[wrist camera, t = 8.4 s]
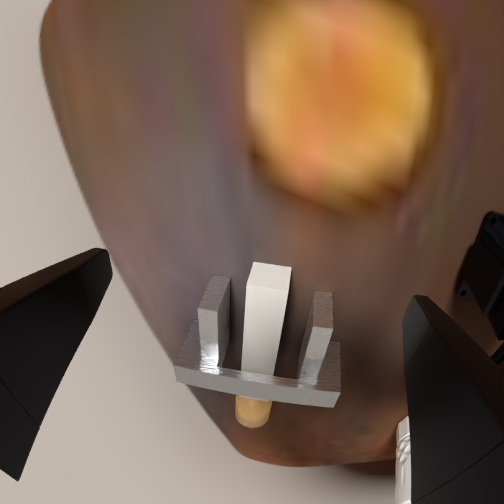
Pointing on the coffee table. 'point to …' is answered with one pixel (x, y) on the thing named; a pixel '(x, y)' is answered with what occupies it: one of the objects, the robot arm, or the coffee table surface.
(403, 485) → the white cup
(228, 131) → the coffee table surface
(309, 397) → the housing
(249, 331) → the white elongated bar
